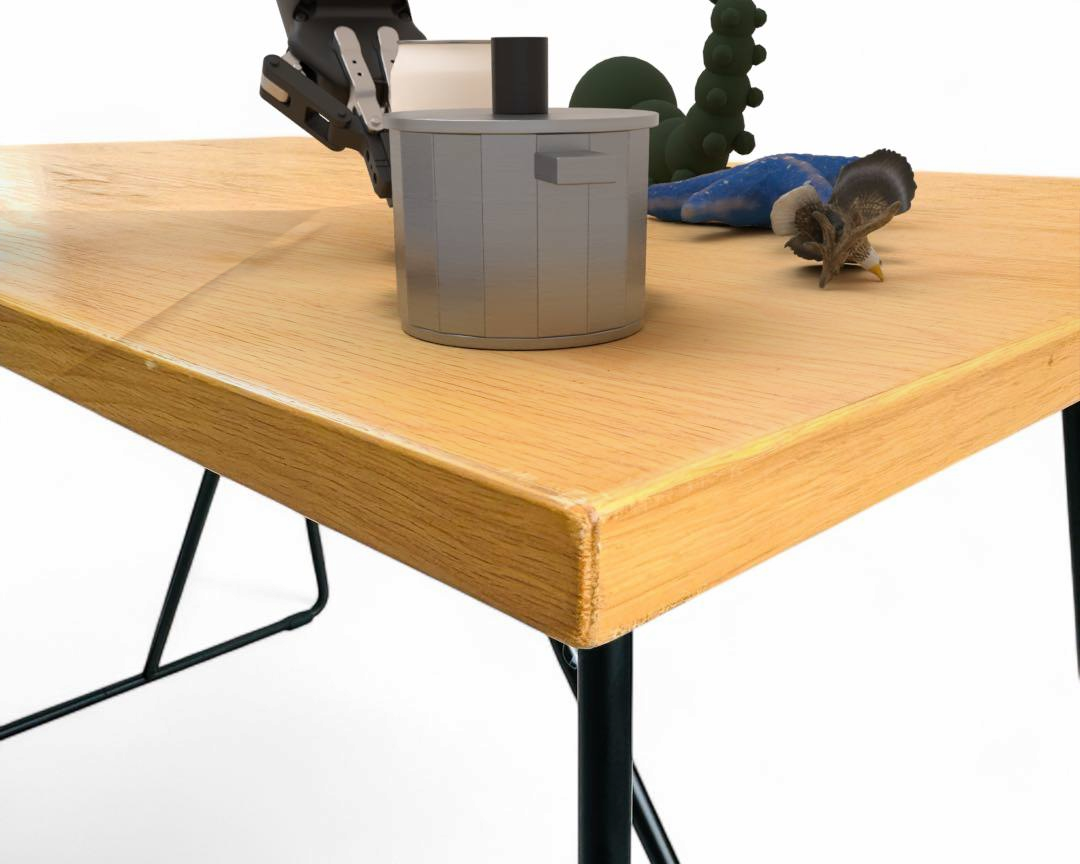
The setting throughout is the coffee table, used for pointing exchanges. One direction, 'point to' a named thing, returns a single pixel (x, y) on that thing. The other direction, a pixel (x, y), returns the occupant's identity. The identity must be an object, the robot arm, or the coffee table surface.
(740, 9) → the toy figurine
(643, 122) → the pot lid
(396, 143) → the pot
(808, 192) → the eagle figurine
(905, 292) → the coffee table surface
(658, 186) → the starfish
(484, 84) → the can
